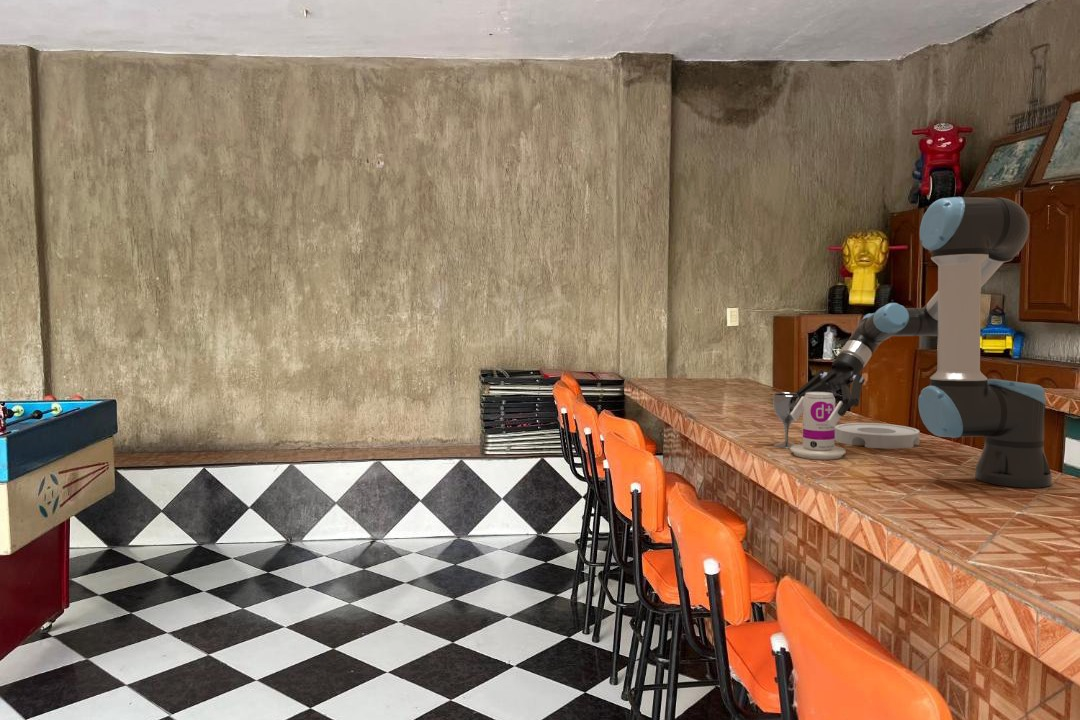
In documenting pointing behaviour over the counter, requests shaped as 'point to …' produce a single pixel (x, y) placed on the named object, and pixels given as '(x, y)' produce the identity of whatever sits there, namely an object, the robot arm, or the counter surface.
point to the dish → (818, 453)
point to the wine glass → (785, 412)
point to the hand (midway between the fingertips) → (811, 420)
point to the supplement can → (818, 421)
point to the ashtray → (877, 435)
